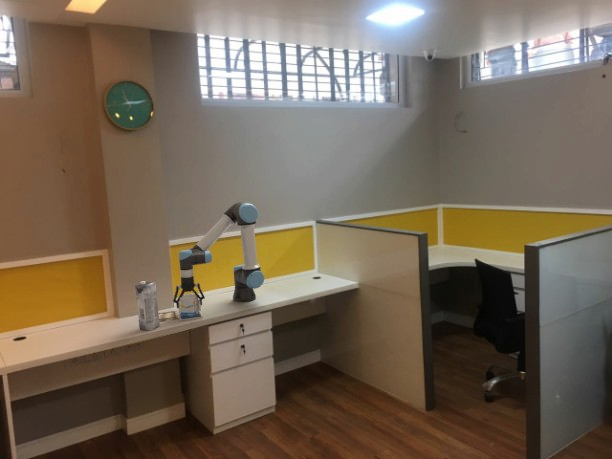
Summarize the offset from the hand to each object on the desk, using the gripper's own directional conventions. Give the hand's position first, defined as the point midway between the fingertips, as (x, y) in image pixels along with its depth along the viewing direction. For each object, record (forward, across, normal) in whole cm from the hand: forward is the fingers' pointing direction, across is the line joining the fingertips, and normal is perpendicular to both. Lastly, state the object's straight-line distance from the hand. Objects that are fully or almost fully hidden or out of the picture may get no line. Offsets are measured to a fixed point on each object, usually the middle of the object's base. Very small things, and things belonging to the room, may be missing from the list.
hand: (190, 312), depth 320 cm
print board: (+3, +15, -6) cm, 16 cm away
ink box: (+2, 0, 0) cm, 2 cm away
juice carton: (+3, +24, +11) cm, 27 cm away
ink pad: (+3, 0, 0) cm, 3 cm away
